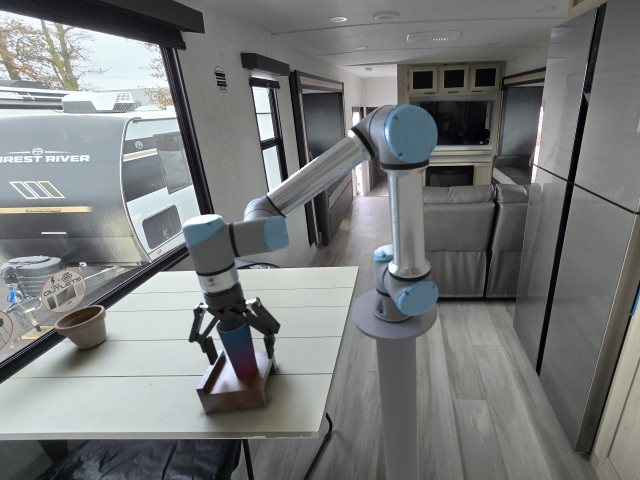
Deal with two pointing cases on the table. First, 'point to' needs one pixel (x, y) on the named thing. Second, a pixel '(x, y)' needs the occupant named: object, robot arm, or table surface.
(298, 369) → the table surface
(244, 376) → the cup
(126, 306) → the table surface
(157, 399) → the table surface
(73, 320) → the flower pot
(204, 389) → the brown stepped block
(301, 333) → the table surface
